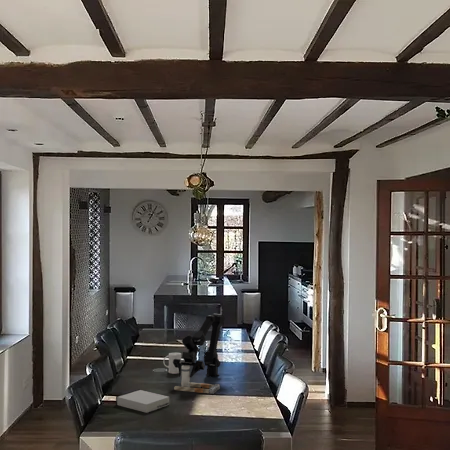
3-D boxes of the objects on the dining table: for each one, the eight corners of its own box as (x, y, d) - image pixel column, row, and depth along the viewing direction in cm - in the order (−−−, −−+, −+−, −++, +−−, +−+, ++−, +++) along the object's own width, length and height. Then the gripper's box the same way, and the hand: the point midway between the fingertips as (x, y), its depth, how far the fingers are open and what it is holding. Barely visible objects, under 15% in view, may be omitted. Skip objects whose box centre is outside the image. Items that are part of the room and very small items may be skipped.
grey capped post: (186, 386, 350) (186, 364, 350) (191, 388, 346) (191, 366, 346) (179, 388, 347) (179, 366, 347) (184, 389, 343) (184, 367, 343)
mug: (162, 373, 381) (162, 354, 381) (164, 370, 390) (164, 352, 390) (180, 373, 380) (180, 355, 380) (182, 370, 389) (182, 352, 389)
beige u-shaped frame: (174, 390, 343) (174, 385, 343) (181, 385, 353) (181, 380, 353) (213, 393, 335) (213, 389, 335) (219, 388, 346) (219, 384, 346)
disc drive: (139, 398, 328) (139, 389, 328) (169, 405, 315) (169, 396, 315) (115, 405, 314) (115, 396, 314) (146, 413, 301) (146, 404, 301)
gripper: (174, 345, 353) (166, 367, 343) (203, 347, 347) (196, 370, 337) (179, 355, 361) (171, 378, 350) (207, 358, 355) (201, 381, 344)
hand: (184, 376), depth 345 cm, fingers open, 7 cm apart
